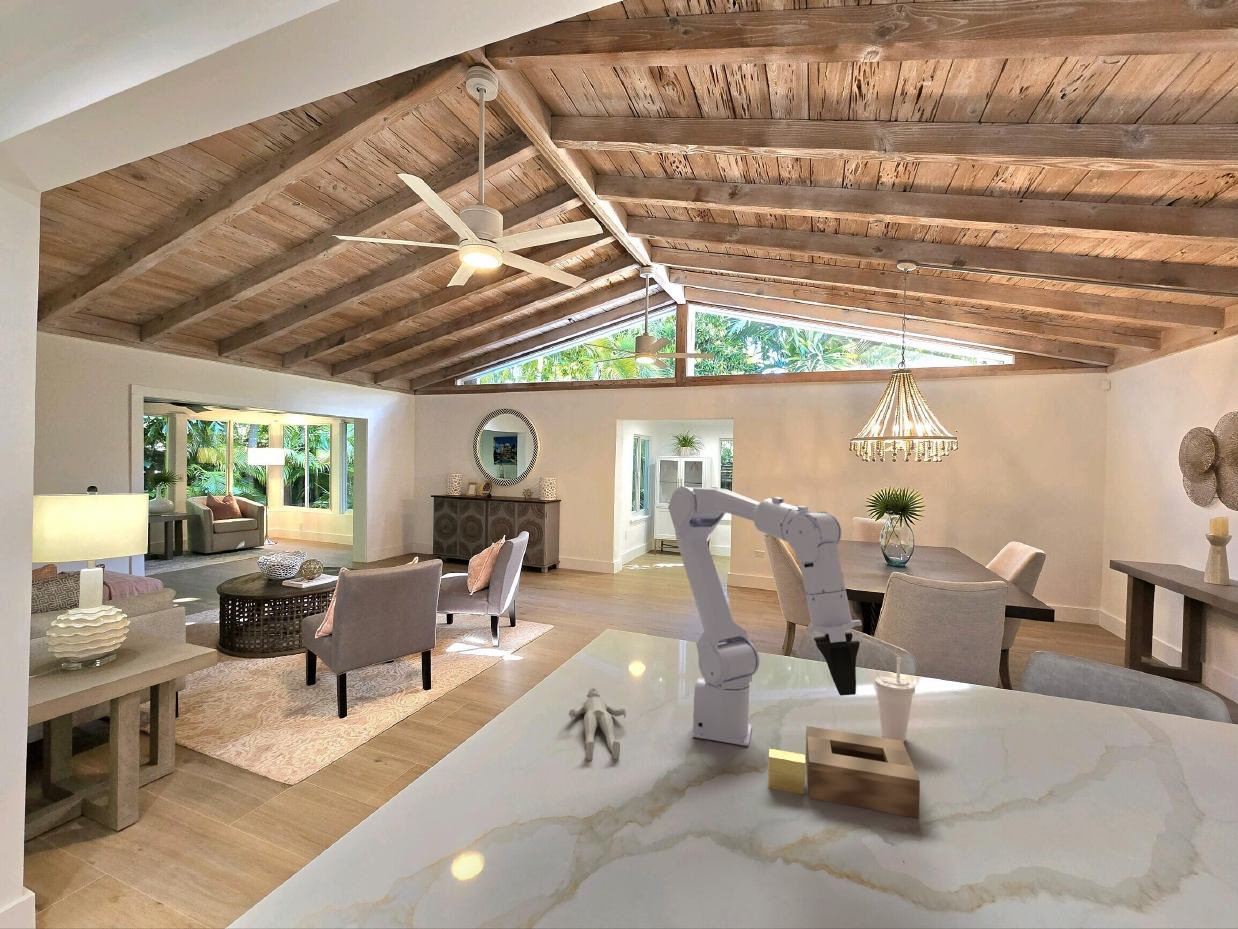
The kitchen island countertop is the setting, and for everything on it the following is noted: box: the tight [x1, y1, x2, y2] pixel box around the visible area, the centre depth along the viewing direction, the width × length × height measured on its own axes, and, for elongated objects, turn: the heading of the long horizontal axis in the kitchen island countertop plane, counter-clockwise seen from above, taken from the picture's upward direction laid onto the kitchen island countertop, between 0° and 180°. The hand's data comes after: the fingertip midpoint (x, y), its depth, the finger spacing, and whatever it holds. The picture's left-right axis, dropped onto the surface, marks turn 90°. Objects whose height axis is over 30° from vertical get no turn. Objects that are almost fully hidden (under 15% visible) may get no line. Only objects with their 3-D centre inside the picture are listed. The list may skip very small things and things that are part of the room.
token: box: [767, 748, 806, 795], centre depth 81 cm, size 5×2×4 cm, turn 73°
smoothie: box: [874, 657, 916, 743], centre depth 98 cm, size 6×6×14 cm
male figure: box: [568, 686, 627, 761], centre depth 98 cm, size 10×4×22 cm
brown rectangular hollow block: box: [805, 725, 921, 819], centre depth 82 cm, size 14×12×5 cm
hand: (844, 689), depth 80 cm, fingers open, 7 cm apart
